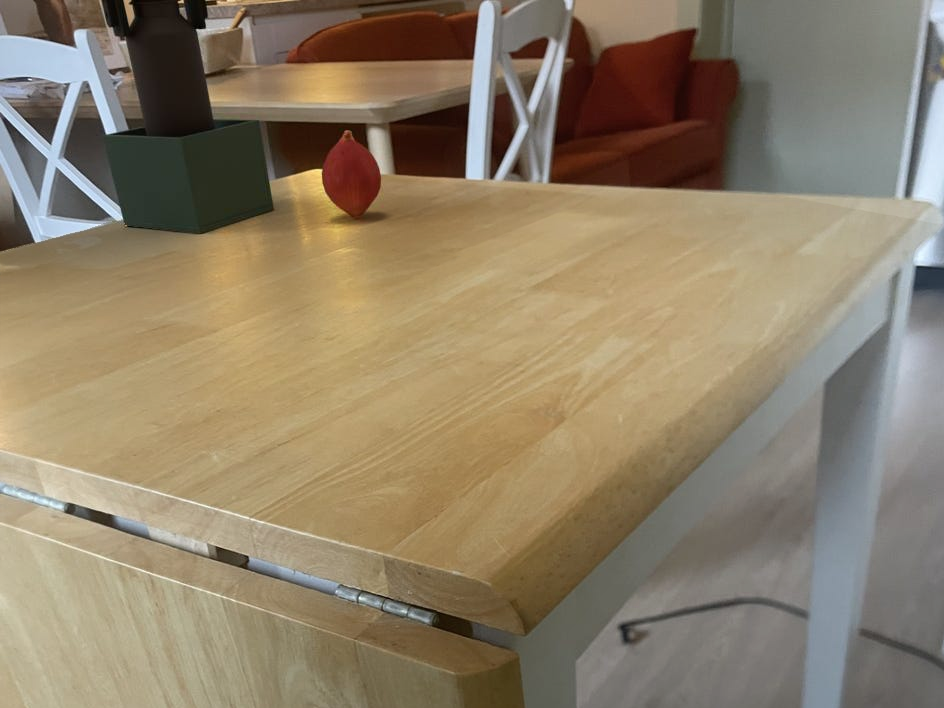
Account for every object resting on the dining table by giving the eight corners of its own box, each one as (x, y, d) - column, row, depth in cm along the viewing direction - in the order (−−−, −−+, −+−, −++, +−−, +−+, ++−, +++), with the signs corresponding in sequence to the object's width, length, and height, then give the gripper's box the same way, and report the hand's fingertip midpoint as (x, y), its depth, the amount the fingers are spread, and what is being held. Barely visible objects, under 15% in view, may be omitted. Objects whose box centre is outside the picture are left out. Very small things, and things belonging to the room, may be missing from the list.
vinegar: (241, 194, 106) (200, -34, 94) (193, 208, 101) (144, -31, 90) (196, 191, 109) (151, -31, 98) (148, 204, 104) (95, -27, 93)
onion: (315, 221, 101) (302, 133, 97) (354, 209, 105) (344, 124, 100) (358, 227, 98) (346, 136, 93) (396, 214, 102) (387, 126, 97)
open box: (200, 233, 100) (180, 138, 95) (124, 226, 105) (102, 135, 100) (274, 209, 107) (259, 119, 102) (200, 203, 112) (182, 118, 108)
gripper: (193, -203, 93) (231, 23, 103) (-3, -204, 85) (59, 40, 96) (222, -216, 87) (260, 25, 98) (16, -217, 80) (80, 42, 90)
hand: (160, 30), depth 96 cm, fingers closed on vinegar, 6 cm apart
